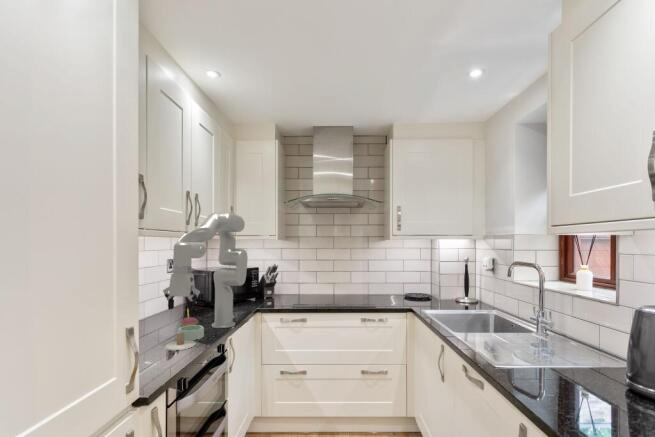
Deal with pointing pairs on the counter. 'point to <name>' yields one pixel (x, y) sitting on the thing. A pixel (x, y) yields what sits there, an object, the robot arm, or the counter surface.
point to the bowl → (192, 332)
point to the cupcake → (189, 320)
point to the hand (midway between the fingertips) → (180, 309)
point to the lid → (180, 343)
